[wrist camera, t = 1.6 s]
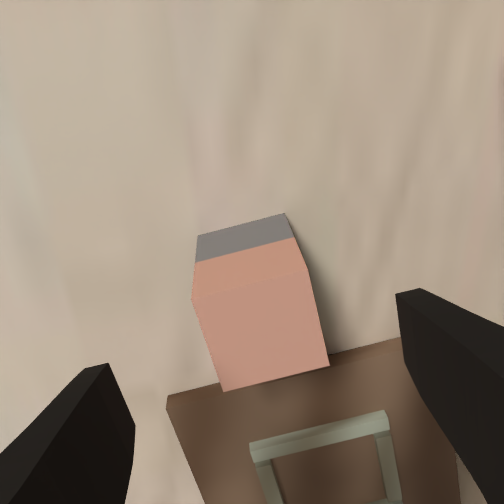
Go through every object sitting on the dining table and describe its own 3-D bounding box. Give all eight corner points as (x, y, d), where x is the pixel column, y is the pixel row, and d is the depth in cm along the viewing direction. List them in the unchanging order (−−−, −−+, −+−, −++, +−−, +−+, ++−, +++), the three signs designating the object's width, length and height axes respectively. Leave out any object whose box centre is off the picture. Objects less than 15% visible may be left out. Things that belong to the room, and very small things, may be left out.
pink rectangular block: (284, 212, 21) (307, 269, 16) (302, 289, 23) (329, 365, 17) (197, 235, 22) (191, 299, 16) (221, 310, 23) (223, 392, 18)
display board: (434, 328, 24) (448, 346, 23) (456, 515, 30) (468, 539, 28) (167, 395, 25) (164, 417, 23) (237, 567, 30) (238, 593, 29)
